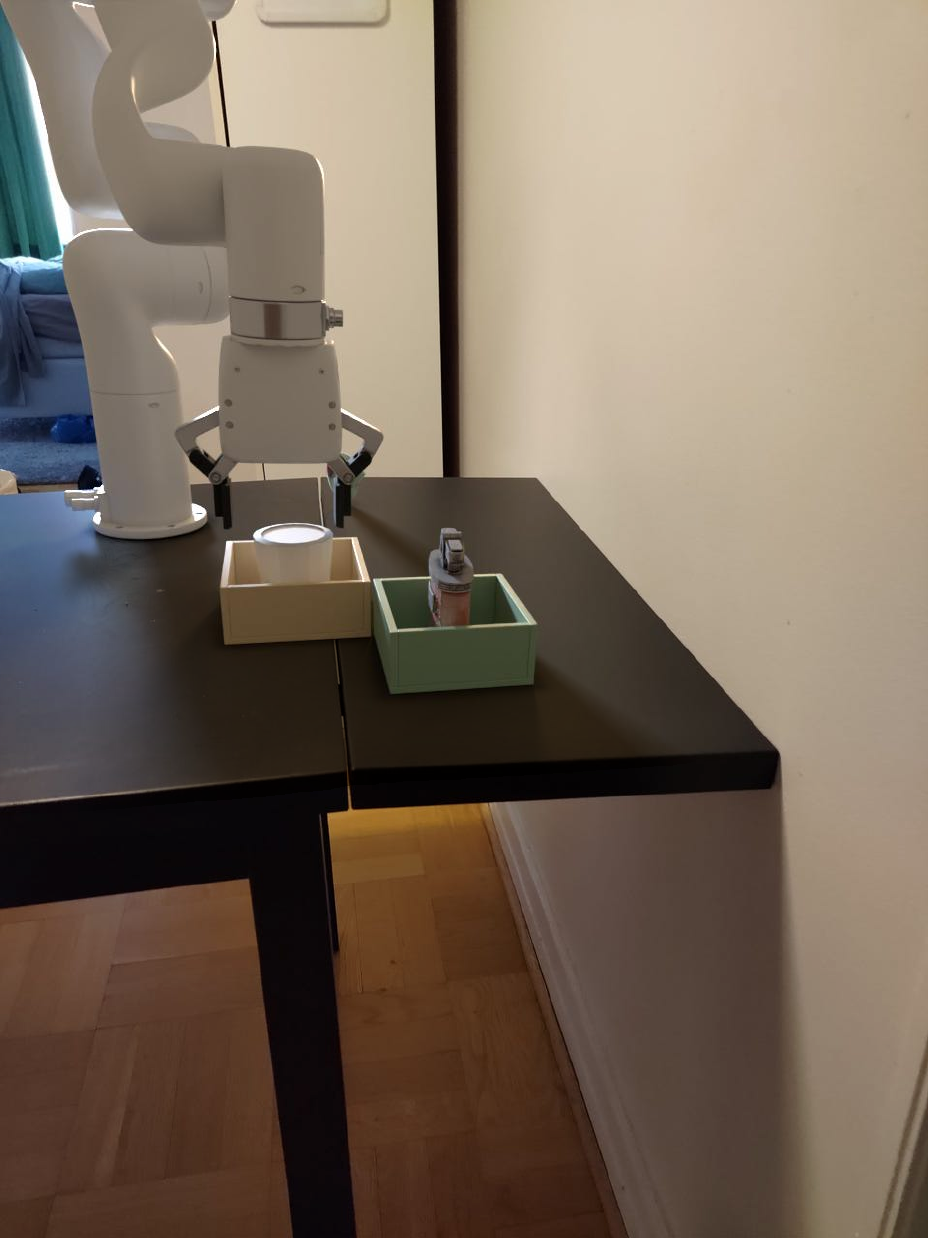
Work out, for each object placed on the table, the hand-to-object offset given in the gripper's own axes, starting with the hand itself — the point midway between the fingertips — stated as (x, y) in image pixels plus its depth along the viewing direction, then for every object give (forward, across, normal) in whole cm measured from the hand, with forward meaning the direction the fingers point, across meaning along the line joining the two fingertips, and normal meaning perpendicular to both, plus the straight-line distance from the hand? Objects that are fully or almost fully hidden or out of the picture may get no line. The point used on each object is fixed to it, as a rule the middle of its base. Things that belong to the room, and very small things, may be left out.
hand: (284, 523), depth 76 cm
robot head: (+9, -8, -34) cm, 36 cm away
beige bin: (+8, -1, +2) cm, 8 cm away
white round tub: (+7, -1, +2) cm, 8 cm away
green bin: (+7, -13, +13) cm, 20 cm away
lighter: (+7, -13, +13) cm, 20 cm away
